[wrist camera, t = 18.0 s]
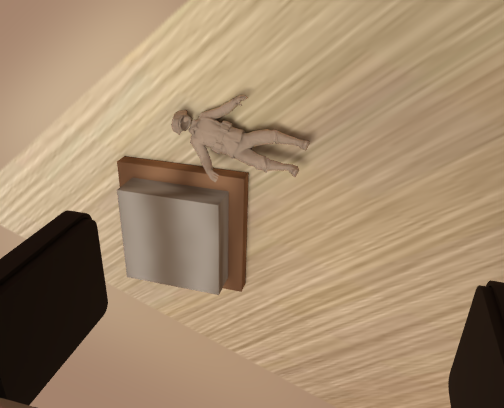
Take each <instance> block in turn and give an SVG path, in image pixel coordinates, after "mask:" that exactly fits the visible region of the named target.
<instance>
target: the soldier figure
mask: <svg viewBox="0 0 504 408" xmlns="http://www.w3.org/2000/svg"><path fill="white" fill-rule="evenodd" d="M243 98H244V99H246V98H248V97H247V96H245V95H240V96H237V97H235V98H233V99H232V100H230V101H229V102H227V103H225V104H223V105H222V106H220V107H217V108H214V109H212V110H208V111H205V112H202V113H201V115H200V116H199V117H198V119H197V120H192V123H191V126H190V129H189V132H190V133H191V134H192V136H191V141H190V143H191V144H192V146H193V147H194V149H195V151H196V152H197V154H198V156H199V158H200V160H201V163H202V165H203V167H204V169H205V171H206V173H207V174H208V176H209V178H210V179H211V180H212V181H214V182H216V181H217V179H218V177H217V176H219V175H218V174H217V173H215V172H214V171H213V167H212V162H211V159H210V156H209V155H208V151H207V148H206V147H205V146H207V147H211V148H212V151H214V152H216V153H218V154H220V153H223V154H227V155H229V156H230V157H231V158H236V159H238V160H239V161H241V162H243V163H246V164H247V165H250V166H254V167H255V168H256V169H258V170H264V171H265V172H267V171H269V170H280V171H284V170H288V171H289V172H290V173H291V174H292V175H293V176H294V177H296V175H297V174H298V171H299V168H298V166H295V165H293V164H292V165H291V164H282V163H280V162H277V161H274V160H270V159H269V158H266V157H265V156H261V155H259V154H257V153H255V152H254V151H253V150H252V149H251V148H253V147H255V146H258V145H265V144H273V143H274V142H275V143H276V144H278V143H281V144H294V145H296V146H299V147H300V148H302V149H303V150H307V148H308V145H309V143H310V141H305V140H302V139H301V140H300V139H297V138H295V137H292V136H289V135H286V134H284V133H281V132H278V131H277V130H275V129H274V130H269V129H263V130H256V131H252V132H250V133H245V131H244V130H241V129H237V128H234V127H232V123H231V122H228V121H224V120H223V122H222V123H220V122H218V121H216V119H219V118H221V117H223V116H224V115H227V114H228V113H230V112H231V111H232V110H233V109H234V108H235V107H236V106H237V105H238V104H239V105H241V106H242V104H240V101H241V100H244V99H243ZM192 119H193V118H192ZM190 121H191V118H190V116H187V110H181V111H177V112H176V113H175V114H174V117H173V119H172V124H171V125H172V129H173V131H174V132H176V133H178V134H179V135H180V133H181V132H182V130H183V131H186V130H187V129H188V128H189V125H190ZM214 174H215V175H217V176H215V175H214ZM214 177H215V178H214ZM216 178H217V179H216Z"/></svg>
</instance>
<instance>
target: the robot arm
mask: <svg viewBox="0 0 504 408" xmlns="http://www.w3.org/2000/svg"><path fill="white" fill-rule="evenodd" d="M107 305H108V299H107V292H106V285H105V278H104V271H103V264H102V257H101V250H100V243H99V236H98V229H97V224H96V222H95V221H94V220H92V218H91V216H90V215H89V214H87V213H81V212H75V211H65V212H63V213H61V214H60V215H59V216H57V217H56V218H55V219H53V220H52V221H51V222H49V223H48V224H47V225H45V226H44V227H43V228H41V229H40V230H39V231H37V232H36V233H35V234H33V235H32V236H31V237H29V238H28V239H27V240H25V241H24V242H23V243H21V244H20V245H19V246H17V247H16V248H14V249H13V250H12V251H10V252H9V253H8V254H6V255H5V256H4V257H2V258H1V259H0V408H36V407H32V406H29V405H30V403H31V402H32V401H33V400H34V399H35V398H36V396H37V395H38V394H39V393H40V391H41V390H42V389H43V388H44V387H45V386H46V384H47V383H48V382H49V381H50V379H51V378H52V377H53V376H54V375H55V373H56V372H57V371H58V370H59V369H60V367H61V366H62V365H63V364H64V363H65V361H66V360H67V359H68V358H69V357H70V355H71V354H72V353H73V352H74V350H75V349H76V348H77V347H78V346H79V344H80V343H81V342H82V341H83V340H84V338H85V337H86V336H87V335H88V334H89V332H90V331H91V330H92V329H93V327H94V326H95V325H96V324H97V322H98V321H99V320H100V319H101V318H102V317H103V315H104V314H105V312H106V309H107ZM449 396H450V403H451V408H504V283H502V282H496V281H489V282H488V283H487V285H486V286H480V285H479V286H478V287H477V289H476V292H475V295H474V298H473V301H472V304H471V308H470V311H469V314H468V317H467V320H466V324H465V327H464V330H463V333H462V336H461V339H460V343H459V346H458V349H457V352H456V355H455V359H454V362H453V365H452V368H451V371H450V375H449Z"/></svg>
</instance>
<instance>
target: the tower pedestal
mask: <svg viewBox="0 0 504 408" xmlns="http://www.w3.org/2000/svg"><path fill="white" fill-rule="evenodd" d="M117 165H118V174H119V183H120V188H119V189H118V190H117V194H118V203H119V212H120V220H121V229H122V237H123V246H124V255H125V263H126V272H127V277H130V278H135V279H140V280H145V281H150V282H155V283H160V284H166V285H171V286H176V287H181V288H186V289H191V290H196V291H201V292H207V293H212V294H217V295H219V294H220V292H221V290H222V288H225V289H230V290H236V291H241V292H242V289H243V287H244V285H245V278H246V242H247V207H248V173H246V172H238V171H231V170H223V169H216V168H213V171H214V172H215V173H217V174H218V175H219V176H217V175H215V174H214V175H215V176H217V177H218V179H217V178H216V179H217V181H216V182H214V181H212V180H211V179H210V178H209V176H208V174H207V173H206V171H205V169H204V167H201V166H194V165H186V164H179V163H171V162H164V161H156V160H149V159H141V158H134V157H126V156H124V157H123V158H122V159H120V160H119V161H117ZM214 178H215V177H214Z"/></svg>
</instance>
